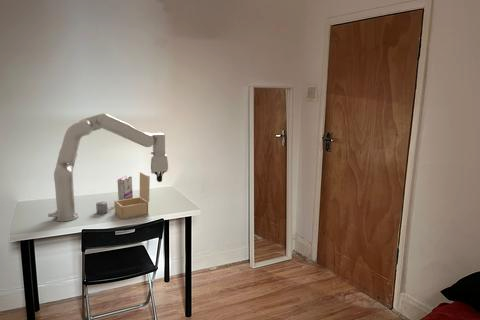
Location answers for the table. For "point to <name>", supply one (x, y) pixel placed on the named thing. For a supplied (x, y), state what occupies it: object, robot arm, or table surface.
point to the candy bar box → (125, 188)
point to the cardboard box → (131, 208)
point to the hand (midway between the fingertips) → (159, 181)
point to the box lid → (144, 186)
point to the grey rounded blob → (101, 208)
